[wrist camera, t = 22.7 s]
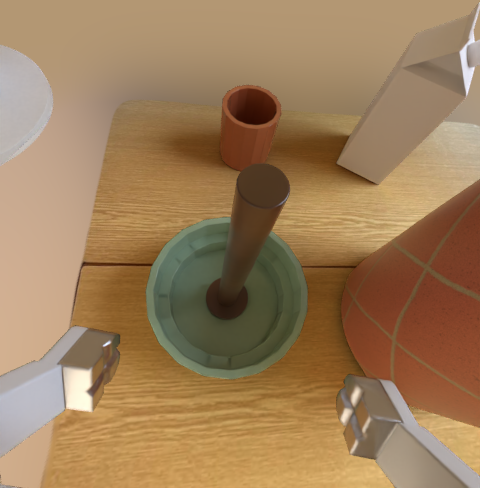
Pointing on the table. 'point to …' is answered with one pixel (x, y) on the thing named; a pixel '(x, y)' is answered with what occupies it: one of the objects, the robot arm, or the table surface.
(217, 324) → the bowl
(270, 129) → the crock
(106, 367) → the robot arm
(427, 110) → the milk carton
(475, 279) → the planter
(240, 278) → the stirring stick
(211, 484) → the table surface
